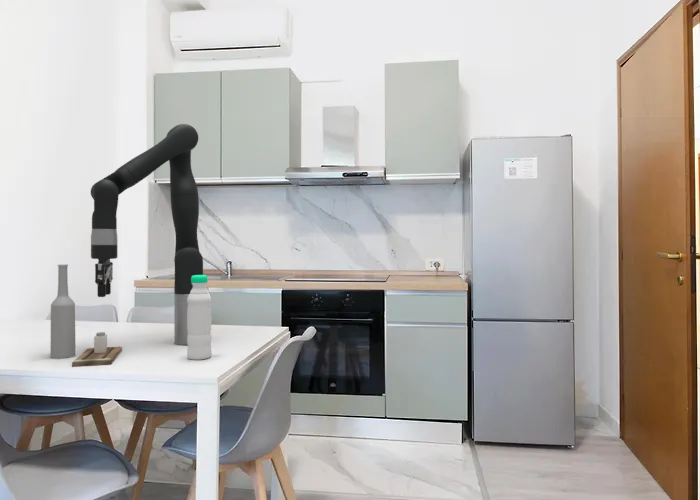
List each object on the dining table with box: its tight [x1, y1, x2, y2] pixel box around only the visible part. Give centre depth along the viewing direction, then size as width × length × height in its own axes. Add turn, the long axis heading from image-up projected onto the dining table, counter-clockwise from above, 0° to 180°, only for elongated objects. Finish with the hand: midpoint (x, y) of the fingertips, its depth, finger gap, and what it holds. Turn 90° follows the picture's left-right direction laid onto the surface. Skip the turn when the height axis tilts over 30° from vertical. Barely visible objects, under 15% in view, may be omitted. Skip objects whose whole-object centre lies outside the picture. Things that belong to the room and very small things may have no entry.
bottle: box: [50, 264, 76, 360], centre depth 148 cm, size 7×7×28 cm
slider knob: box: [93, 331, 108, 353], centre depth 148 cm, size 3×3×6 cm
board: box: [71, 345, 123, 368], centre depth 145 cm, size 10×18×2 cm, turn 16°
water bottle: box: [186, 274, 212, 361], centre depth 147 cm, size 7×7×25 cm
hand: (104, 295), depth 153 cm, fingers open, 7 cm apart
